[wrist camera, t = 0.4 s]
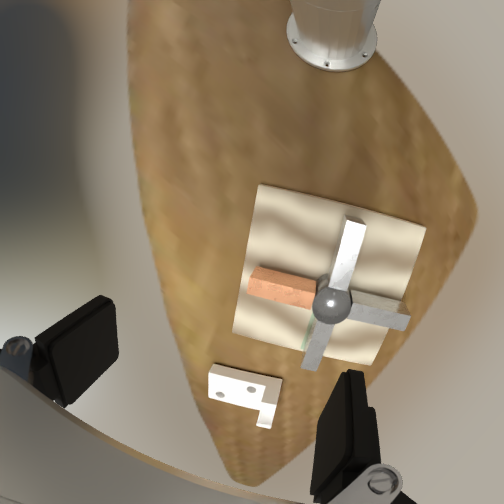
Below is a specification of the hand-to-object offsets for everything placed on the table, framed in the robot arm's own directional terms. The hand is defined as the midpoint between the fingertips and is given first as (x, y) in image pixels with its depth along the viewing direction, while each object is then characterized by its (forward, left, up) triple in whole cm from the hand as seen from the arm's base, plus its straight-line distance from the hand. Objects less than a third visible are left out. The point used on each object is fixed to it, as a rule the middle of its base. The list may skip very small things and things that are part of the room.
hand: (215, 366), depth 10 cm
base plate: (+9, +7, -32) cm, 34 cm away
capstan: (+9, +8, -31) cm, 33 cm away
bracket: (+33, -1, -33) cm, 47 cm away
